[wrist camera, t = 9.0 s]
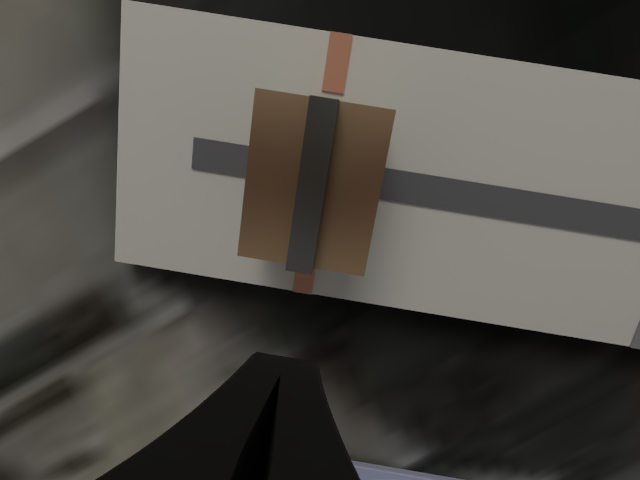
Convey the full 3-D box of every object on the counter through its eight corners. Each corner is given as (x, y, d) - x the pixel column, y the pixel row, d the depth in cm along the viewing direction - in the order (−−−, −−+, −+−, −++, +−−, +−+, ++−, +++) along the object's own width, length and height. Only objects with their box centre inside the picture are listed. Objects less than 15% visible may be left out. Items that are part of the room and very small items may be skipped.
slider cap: (360, 246, 16) (365, 283, 12) (259, 229, 17) (232, 261, 13) (384, 114, 15) (398, 108, 11) (275, 96, 15) (250, 85, 11)
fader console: (748, 353, 19) (784, 373, 17) (132, 251, 19) (113, 261, 18) (858, 122, 16) (912, 121, 15) (141, 10, 17) (120, -2, 15)
